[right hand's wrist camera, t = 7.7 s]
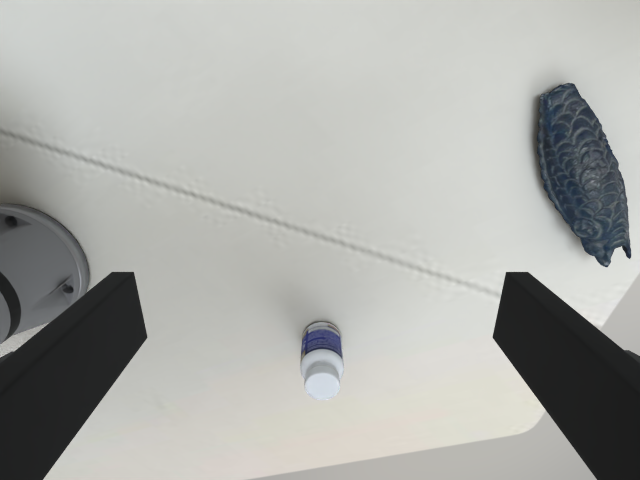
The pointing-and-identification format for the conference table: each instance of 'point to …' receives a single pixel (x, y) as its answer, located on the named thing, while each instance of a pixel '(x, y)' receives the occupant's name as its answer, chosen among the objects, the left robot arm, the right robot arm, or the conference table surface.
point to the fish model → (582, 173)
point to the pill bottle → (322, 360)
